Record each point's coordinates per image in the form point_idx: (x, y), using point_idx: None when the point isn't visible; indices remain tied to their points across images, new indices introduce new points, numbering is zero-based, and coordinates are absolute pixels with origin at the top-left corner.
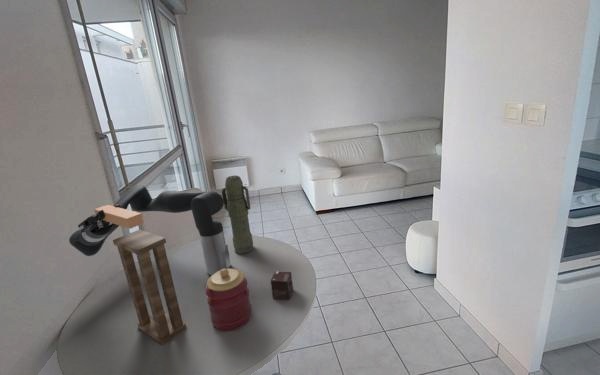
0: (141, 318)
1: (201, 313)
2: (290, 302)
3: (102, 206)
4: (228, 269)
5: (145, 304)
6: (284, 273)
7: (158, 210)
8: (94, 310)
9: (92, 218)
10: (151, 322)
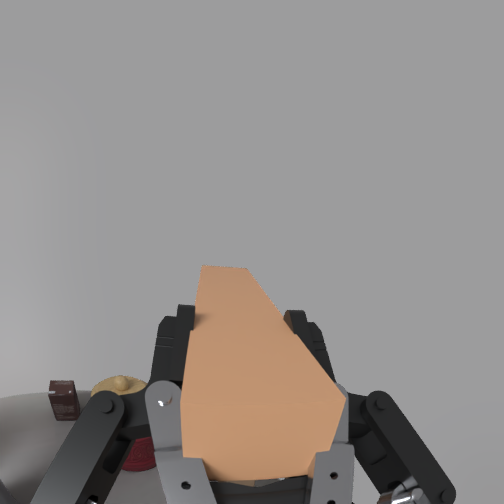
0: None
1: (145, 492)
2: (84, 404)
3: (249, 404)
4: (102, 390)
5: None
6: (54, 385)
7: None
8: None
9: (354, 396)
10: None
